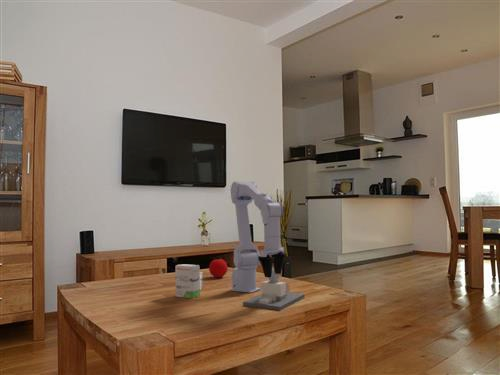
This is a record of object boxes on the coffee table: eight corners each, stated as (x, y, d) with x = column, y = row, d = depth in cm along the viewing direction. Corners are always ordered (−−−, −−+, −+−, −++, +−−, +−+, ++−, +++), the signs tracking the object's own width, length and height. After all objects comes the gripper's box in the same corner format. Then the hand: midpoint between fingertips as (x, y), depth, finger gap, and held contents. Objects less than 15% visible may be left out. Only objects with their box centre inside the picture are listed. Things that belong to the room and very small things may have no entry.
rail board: (243, 305, 125) (242, 296, 125) (270, 293, 142) (270, 285, 142) (280, 310, 118) (280, 300, 118) (304, 297, 135) (304, 289, 135)
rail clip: (276, 290, 136) (276, 282, 136) (278, 289, 138) (278, 281, 138) (287, 291, 134) (286, 283, 134) (289, 290, 135) (289, 282, 136)
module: (261, 298, 129) (261, 281, 130) (266, 296, 133) (266, 279, 133) (280, 300, 125) (280, 283, 126) (285, 298, 129) (285, 281, 129)
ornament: (210, 279, 174) (209, 258, 174) (208, 276, 183) (208, 256, 183) (229, 278, 176) (228, 257, 176) (226, 275, 184) (226, 255, 185)
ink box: (200, 296, 140) (200, 264, 141) (192, 299, 136) (192, 266, 136) (183, 293, 144) (183, 263, 145) (174, 296, 140) (174, 265, 141)
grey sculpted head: (281, 283, 161) (281, 267, 161) (265, 283, 162) (265, 267, 163) (283, 281, 167) (282, 265, 167) (267, 280, 168) (267, 265, 169)
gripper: (273, 238, 122) (273, 279, 121) (291, 235, 135) (292, 273, 134) (254, 237, 126) (255, 278, 125) (274, 235, 138) (274, 271, 137)
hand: (273, 275), depth 130 cm, fingers open, 7 cm apart
